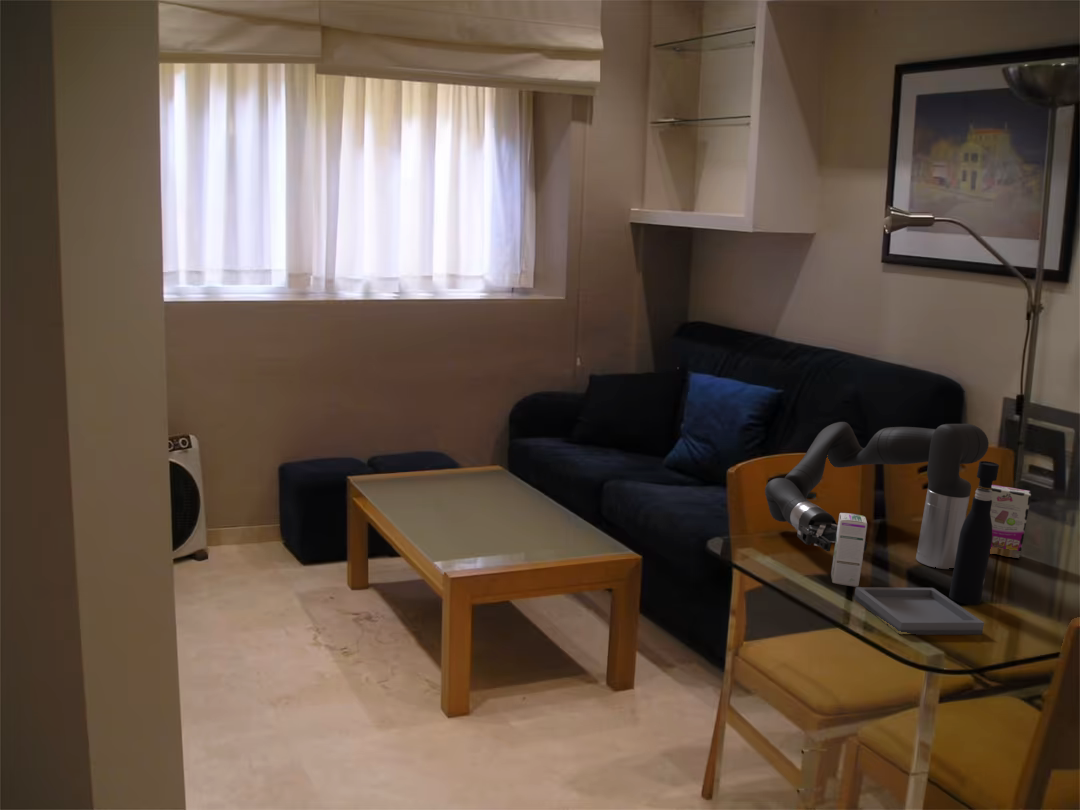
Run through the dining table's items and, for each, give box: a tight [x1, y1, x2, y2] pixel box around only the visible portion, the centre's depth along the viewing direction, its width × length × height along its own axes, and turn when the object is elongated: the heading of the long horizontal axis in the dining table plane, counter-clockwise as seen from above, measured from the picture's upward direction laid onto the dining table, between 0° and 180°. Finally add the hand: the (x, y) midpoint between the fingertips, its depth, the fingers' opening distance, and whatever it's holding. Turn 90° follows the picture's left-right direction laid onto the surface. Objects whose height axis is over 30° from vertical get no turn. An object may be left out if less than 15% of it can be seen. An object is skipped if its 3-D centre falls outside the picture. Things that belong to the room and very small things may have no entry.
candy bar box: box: [990, 484, 1032, 552], centre depth 267 cm, size 11×5×16 cm, turn 68°
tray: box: [853, 586, 985, 636], centre depth 221 cm, size 18×18×2 cm
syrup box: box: [830, 512, 868, 588], centre depth 236 cm, size 6×6×14 cm
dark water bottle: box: [948, 460, 1000, 606], centre depth 231 cm, size 6×6×30 cm
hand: (846, 547), depth 237 cm, fingers open, 8 cm apart
